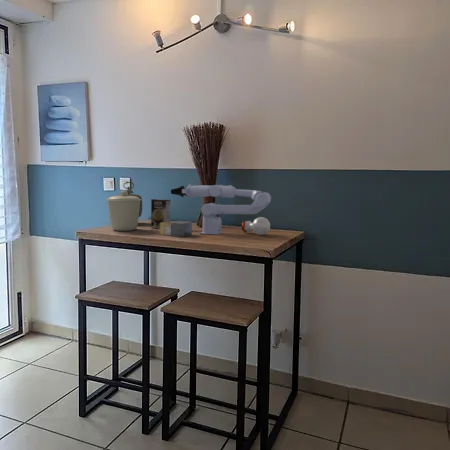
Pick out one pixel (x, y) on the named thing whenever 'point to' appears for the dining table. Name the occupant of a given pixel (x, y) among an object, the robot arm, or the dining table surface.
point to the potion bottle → (257, 226)
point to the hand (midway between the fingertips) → (174, 191)
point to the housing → (181, 228)
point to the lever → (165, 228)
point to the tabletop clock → (133, 195)
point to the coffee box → (159, 212)
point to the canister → (124, 212)
